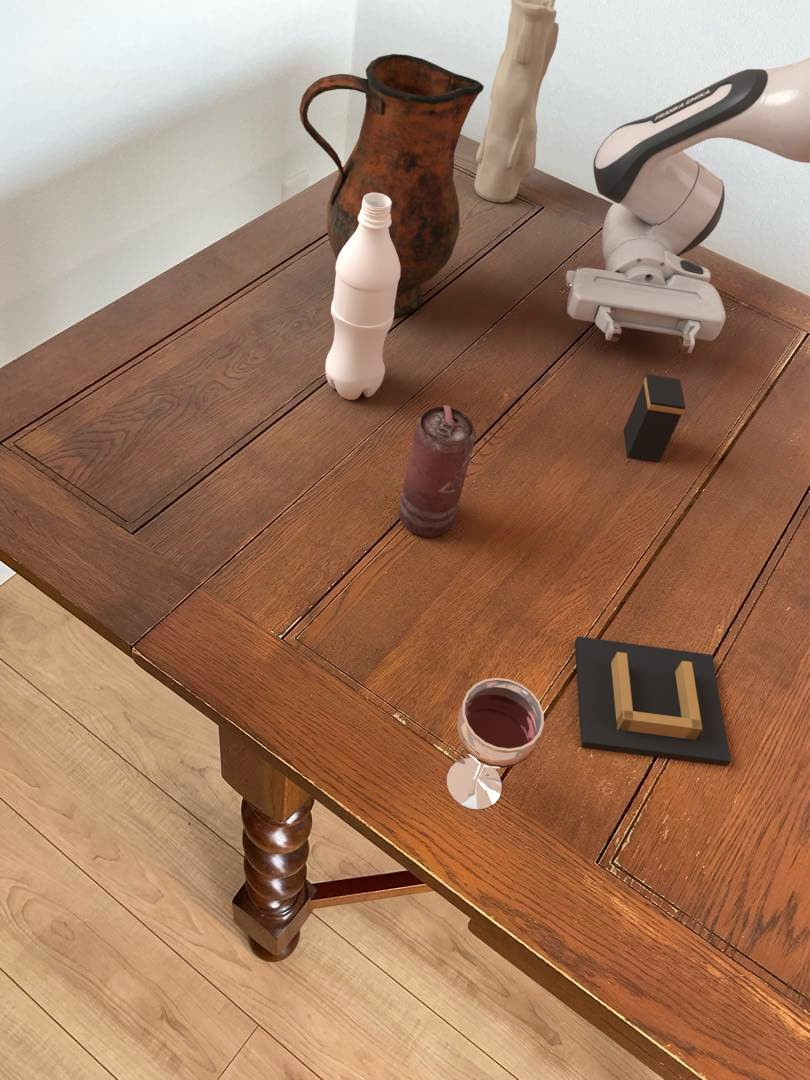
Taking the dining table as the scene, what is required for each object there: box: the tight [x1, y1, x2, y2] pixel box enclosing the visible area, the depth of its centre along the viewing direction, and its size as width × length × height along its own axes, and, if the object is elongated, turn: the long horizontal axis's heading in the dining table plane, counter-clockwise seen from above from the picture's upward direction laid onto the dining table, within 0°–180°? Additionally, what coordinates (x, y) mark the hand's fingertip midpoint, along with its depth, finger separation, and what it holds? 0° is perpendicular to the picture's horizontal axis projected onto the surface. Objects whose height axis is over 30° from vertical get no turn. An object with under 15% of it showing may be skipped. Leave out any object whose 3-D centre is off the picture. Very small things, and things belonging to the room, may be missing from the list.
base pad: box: [574, 636, 732, 767], centre depth 93 cm, size 14×12×3 cm
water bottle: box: [324, 193, 401, 401], centre depth 109 cm, size 7×7×25 cm
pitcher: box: [298, 53, 485, 318], centre depth 120 cm, size 17×21×30 cm
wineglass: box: [446, 677, 545, 810], centre depth 81 cm, size 7×7×12 cm
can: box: [397, 404, 477, 538], centre depth 101 cm, size 6×6×14 cm
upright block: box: [623, 373, 686, 463], centre depth 115 cm, size 4×5×9 cm
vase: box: [474, 0, 560, 203], centre depth 143 cm, size 9×8×30 cm
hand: (650, 342), depth 121 cm, fingers open, 8 cm apart
